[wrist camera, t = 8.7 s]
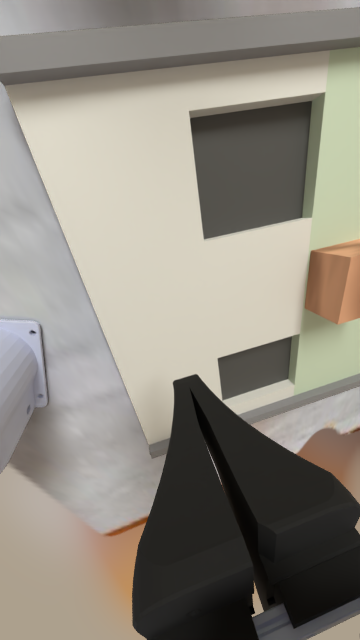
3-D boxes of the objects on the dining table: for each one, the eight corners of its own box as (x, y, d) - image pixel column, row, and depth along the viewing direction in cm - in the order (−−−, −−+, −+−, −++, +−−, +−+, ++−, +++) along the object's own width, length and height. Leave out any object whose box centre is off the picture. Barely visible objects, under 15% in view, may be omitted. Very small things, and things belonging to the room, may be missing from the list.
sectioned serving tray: (150, 439, 28) (152, 458, 26) (5, 71, 12) (-22, 37, 10) (374, 364, 32) (392, 374, 30) (484, 23, 16) (540, -8, 14)
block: (304, 308, 22) (337, 324, 19) (310, 250, 20) (351, 257, 16) (352, 294, 23) (393, 308, 20) (364, 237, 20) (414, 241, 17)
